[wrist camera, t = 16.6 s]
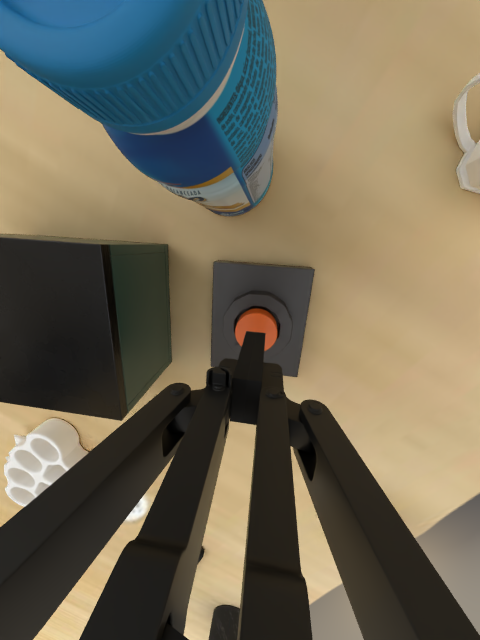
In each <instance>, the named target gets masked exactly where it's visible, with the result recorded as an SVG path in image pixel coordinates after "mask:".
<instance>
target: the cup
mask: <svg viewBox="0 0 480 640" xmlns="http://www.w3.org/2000/svg"><path fill="white" fill-rule="evenodd" d="M478 83H480V73H479V74H477V75H476V76H475V77H473V78H472V79H471V80H470V81H469V83H468V84H467V85H466V86H465V87H464V88H463V89H462V91H461V92H460V94H459V95H458V96H457V98H456V99H455V101H454V107H453V124H454V131H455V136H456V139H457V142H458V145H459V147H460V148H461V150H462V151H463V152H464V155H463V157H462V159H461V161H460V163H459V165H458V167H457V168H456V172H457V176H458V179H459V183H460V187H461V189H465V190H468V191H471V192H475V193H478V194H480V140H479V141H478V142H477V143H475V141H474V140H473V139H472V138H471V136H470V133H469V130H468V127H467V118H466V100H467V93H468V91H469V90H470V89H471V88H472V87H474V86H475V85H477V84H478Z"/></svg>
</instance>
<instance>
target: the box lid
mask: <svg viewBox="0 0 480 640" xmlns="http://www.w3.org/2000/svg"><path fill="white" fill-rule="evenodd" d="M0 402H4V403H10V404H17V405H23V406H30V407H36V408H43V409H49V410H56V411H62V412H69V413H75V414H82V415H88V416H95V417H101V418H108V419H114V420H120V421H122V420H123V419H124V417H125V416H126V415H127V405H126V396H125V387H124V378H123V368H122V359H121V350H120V341H119V332H118V323H117V314H116V305H115V295H114V286H113V277H112V268H111V259H110V250H109V245H108V244H98V243H84V242H70V241H56V240H42V239H29V238H15V237H1V236H0Z"/></svg>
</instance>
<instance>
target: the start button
mask: <svg viewBox="0 0 480 640" xmlns="http://www.w3.org/2000/svg"><path fill="white" fill-rule="evenodd" d="M246 331H251V332H261V333H266V335H265V349H264V351H266V350H268V349H269V348H271V347H272V346H273V345H274V343H275V341H276V339H277V324H276V320H275V318H274V317H273V316H272V315H271V314H270V313H269V312H268V311H266V310H263V309H259V308H255V309H250V310H248V311H246V312H244V313H243V314H242V315H241V316H240V318H239V320H238V322H237V325H236V328H235V337H236V340H237V342H238V343H239V344H240V346H241V347H242V344H243V340H244V337H245V334H246Z"/></svg>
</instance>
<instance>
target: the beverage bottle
mask: <svg viewBox="0 0 480 640" xmlns="http://www.w3.org/2000/svg"><path fill="white" fill-rule="evenodd" d="M0 49H1V50H2V51H4V52H5V55H6V56H7V57H8V58H9V59H11V60H12V61H13V62H15V63H16V65H17V66H18V67H20V68H21V69H23V70H24V71H26V72H27V73H28V74H29V75H31V76H32V77H34V78H35V79H37V80H38V81H39V82H41V83H42V84H44V85H45V86H47V87H48V88H49V89H51V90H52V91H54V92H55V93H57V94H58V95H59V96H61V97H62V98H64V99H65V100H66V101H68V102H69V103H71V104H72V105H74V106H75V107H76V108H78V109H80V110H82V111H83V112H84V113H86V114H87V115H89V116H90V117H92V118H93V119H95V120H97V121H99V122H100V123H102V125H103V126H104V128H105V130H106V131H107V133H108V135H109V136H110V138H111V139H112V140H113V142H114V143H115V145H116V146H117V147H118V149H119V150H120V151H121V152H122V154H123V155H124V156H125V157H126V158H127V159H128V160H129V161H130V162H131V163H132V164H133V165H134V166H135V167H136V168H137V169H138V170H140V171H141V172H142V173H144V174H145V175H146V176H148V177H150V178H151V179H153V180H155V181H157V182H158V183H159V184H161V185H162V186H163V187H165V188H166V189H167V190H169V191H171V192H172V193H174V194H176V195H178V196H180V197H183V198H185V199H189V200H193V201H195V202H196V203H198V204H200V205H202V206H204V207H206V208H207V209H209V210H210V211H212V212H214V213H216V214H219V215H223V216H237V215H241V214H244V213H246V212H248V211H250V210H251V209H253V208H254V207H255V206H256V205H257V204H258V203H259V202H260V201H261V200H262V199H263V197H264V196H265V194H266V192H267V190H268V188H269V186H270V183H271V179H272V174H273V141H274V135H275V130H276V124H277V112H278V101H277V88H276V54H275V45H274V39H273V34H272V30H271V26H270V22H269V18H268V15H267V12H266V9H265V6H264V4H263V1H262V0H0Z"/></svg>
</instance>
